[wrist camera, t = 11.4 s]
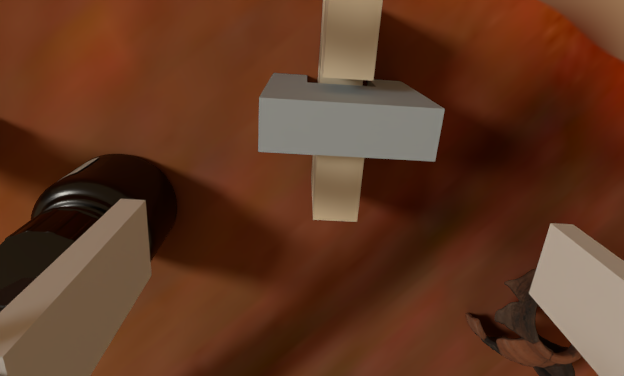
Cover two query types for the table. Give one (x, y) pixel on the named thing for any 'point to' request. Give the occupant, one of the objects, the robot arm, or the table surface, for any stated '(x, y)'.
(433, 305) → the table surface
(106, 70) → the table surface
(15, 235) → the ink bottle
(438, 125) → the slotted plate
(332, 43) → the slotted board
